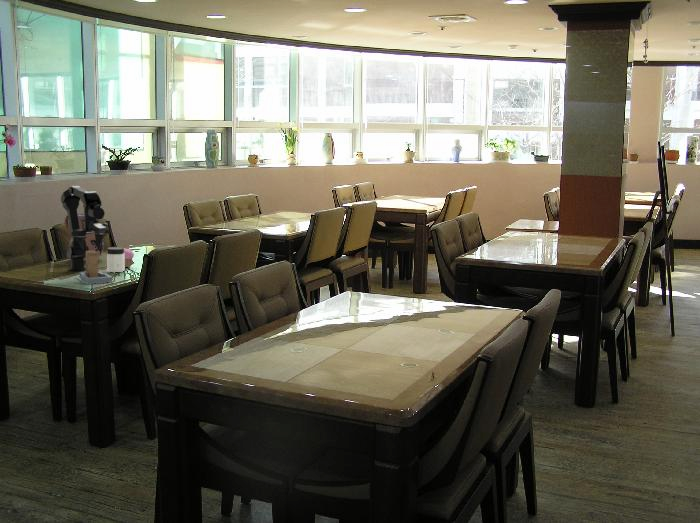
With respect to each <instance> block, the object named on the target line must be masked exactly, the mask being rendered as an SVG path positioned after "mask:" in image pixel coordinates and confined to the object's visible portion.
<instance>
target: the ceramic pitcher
mask: <svg viewBox="0 0 700 523" xmlns="http://www.w3.org/2000/svg"><path fill="white" fill-rule="evenodd" d="M77 214H78V220H79V226H80V230H83V228H84V222H83V221H82V219H84V213H77ZM64 226H65V229H66V232H67V234H68V236H69V239H70V241H69V243H70V242H71V233H70V226H69V220H68V214H67V215H66V216H65V218H64ZM95 234H96V233H91V234H86V235H85V237H86V239H85V241H86V246H87V248H88V251H96V252H98V259H100V257H101V256H102V255H103V252H104V248H105V244H104V238H103V239H102V242H101V245H100V248H97V245H96V239H95ZM78 256H80V255H78ZM84 262H86V258H84Z"/></svg>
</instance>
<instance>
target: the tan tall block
mask: <svg viewBox="0 0 700 523" xmlns="http://www.w3.org/2000/svg"><path fill="white" fill-rule="evenodd" d="M85 268H86V270H85V272H86V275H87V277H88V278H97V277H98V271H99V258H98V252H96V251H86V261H85Z"/></svg>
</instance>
